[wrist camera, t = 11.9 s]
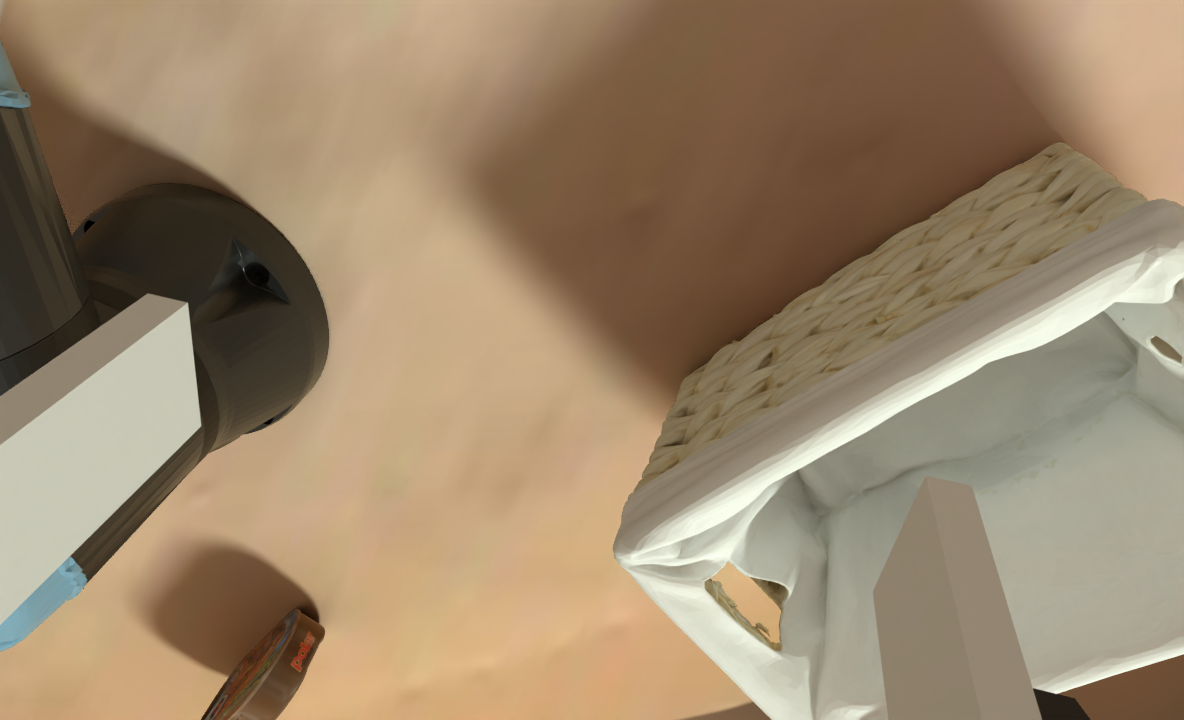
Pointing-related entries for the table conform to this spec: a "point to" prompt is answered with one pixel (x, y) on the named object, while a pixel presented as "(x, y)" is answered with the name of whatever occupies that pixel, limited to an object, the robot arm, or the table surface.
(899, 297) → the storage basket
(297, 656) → the tin
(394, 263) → the table surface
